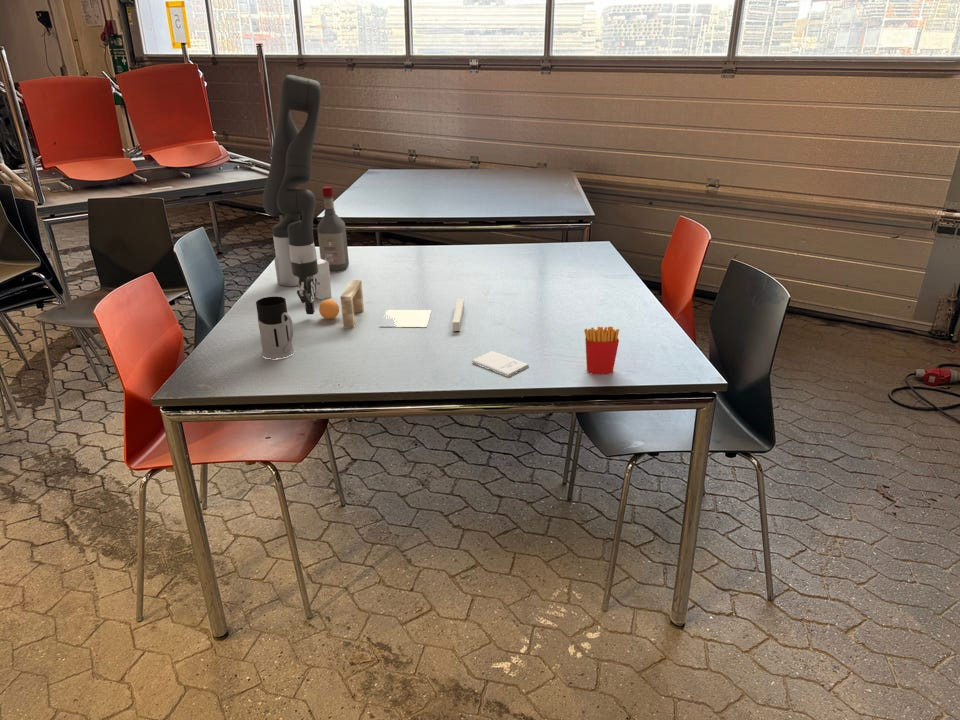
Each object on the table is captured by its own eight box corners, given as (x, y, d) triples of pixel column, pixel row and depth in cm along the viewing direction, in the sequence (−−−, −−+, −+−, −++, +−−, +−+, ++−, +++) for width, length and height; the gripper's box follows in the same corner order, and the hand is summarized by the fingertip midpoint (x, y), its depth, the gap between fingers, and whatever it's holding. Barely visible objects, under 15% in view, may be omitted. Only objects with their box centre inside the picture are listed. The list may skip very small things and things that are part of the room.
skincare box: (311, 295, 222) (307, 260, 217) (323, 292, 225) (319, 257, 219) (321, 300, 218) (317, 264, 213) (333, 296, 220) (329, 261, 215)
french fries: (614, 367, 170) (617, 323, 164) (617, 374, 166) (620, 330, 161) (580, 367, 170) (583, 324, 164) (583, 374, 166) (586, 330, 161)
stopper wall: (452, 331, 192) (452, 322, 191) (457, 307, 210) (457, 298, 209) (459, 331, 192) (459, 322, 191) (464, 307, 210) (463, 298, 209)
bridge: (343, 327, 196) (340, 296, 192) (354, 309, 209) (351, 280, 205) (353, 327, 196) (350, 296, 191) (363, 309, 209) (361, 280, 205)
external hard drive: (492, 355, 179) (528, 369, 171) (471, 365, 173) (508, 379, 165) (492, 350, 178) (528, 363, 170) (471, 359, 172) (508, 373, 165)
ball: (325, 299, 197) (339, 313, 198) (331, 292, 202) (345, 307, 204) (312, 311, 199) (326, 325, 200) (318, 304, 204) (332, 319, 206)
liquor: (345, 272, 245) (337, 189, 232) (320, 272, 245) (311, 189, 233) (350, 264, 253) (342, 184, 241) (326, 264, 254) (317, 185, 241)
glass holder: (285, 344, 185) (278, 293, 179) (311, 359, 176) (304, 306, 169) (256, 353, 180) (247, 301, 173) (281, 369, 170) (273, 315, 164)
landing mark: (379, 327, 196) (379, 326, 196) (387, 310, 208) (387, 309, 208) (426, 327, 195) (426, 327, 195) (431, 310, 208) (431, 310, 208)
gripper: (297, 252, 201) (304, 305, 208) (283, 264, 189) (291, 321, 196) (322, 252, 201) (328, 306, 208) (309, 264, 189) (316, 321, 196)
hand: (310, 313), depth 202 cm, fingers closed
